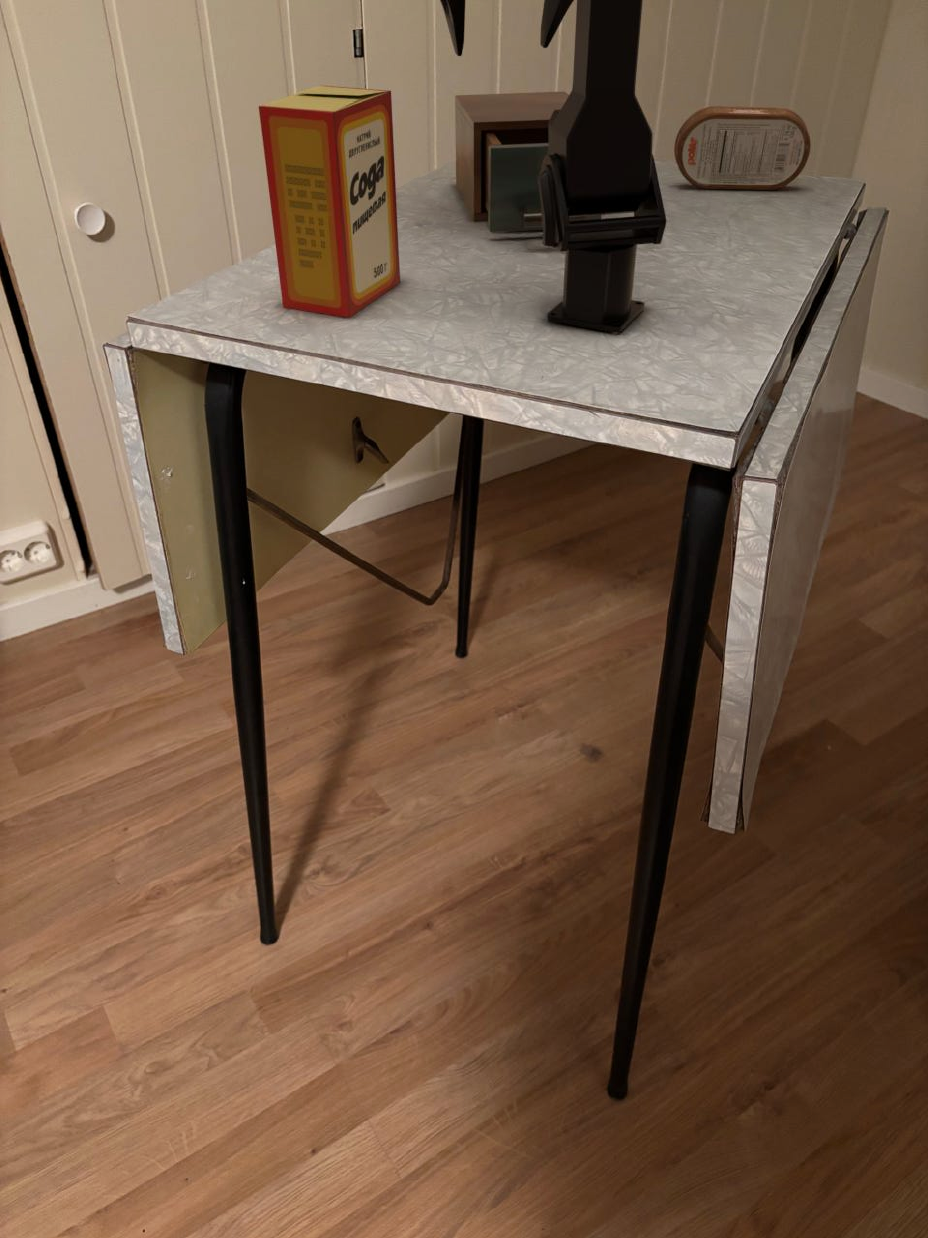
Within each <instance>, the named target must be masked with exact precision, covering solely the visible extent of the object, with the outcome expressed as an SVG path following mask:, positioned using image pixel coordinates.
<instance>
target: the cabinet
mask: <svg viewBox="0 0 928 1238" xmlns="http://www.w3.org/2000/svg"><path fill="white" fill-rule="evenodd" d="M569 95H570V94H569V93H567V92H566V91H543V92H542V91H539V92H537V91H536V92H511V93H510V92H509V93H485V94H483V93H482V94H480V93H479V94H456V95H454V105H455V106H454V110H455V111H454V116H455V117H454V118H455V119H454V120H455V121H454V122H455V125H454V126H455V185H456V188H457V190H458V192H459V194H460V197H461V198H462V200H463V201H464V204H465V206H466V208H467V210H468V212H469V214H470V216H471V218H472V221H473V222H484V221H485V222H488V211H487V210H486V208H485V206H484V204H483V202H482V200H481V131H484V130H510V129H536V128H549V120H550V118H551V115H552V113H553V111H554V110H560V109H561V108H562V107H563V105H564V103H565V101H566V100H567V98H568V96H569Z"/></svg>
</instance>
